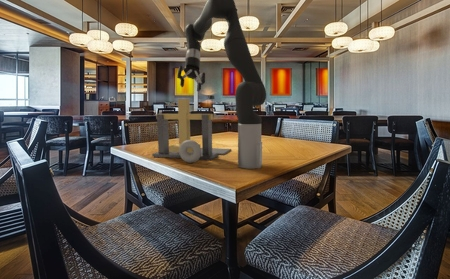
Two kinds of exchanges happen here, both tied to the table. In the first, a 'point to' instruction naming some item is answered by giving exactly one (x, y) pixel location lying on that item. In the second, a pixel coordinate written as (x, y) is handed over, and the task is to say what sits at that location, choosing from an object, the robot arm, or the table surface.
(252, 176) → the table surface
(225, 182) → the table surface
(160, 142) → the stand
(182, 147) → the donut
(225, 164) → the table surface
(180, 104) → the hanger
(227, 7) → the robot arm
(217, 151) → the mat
